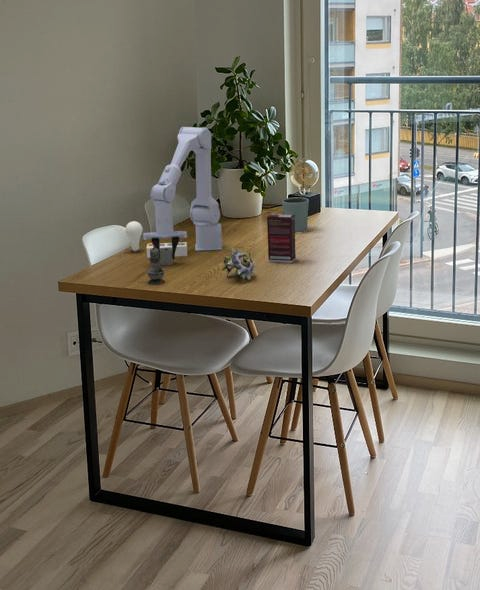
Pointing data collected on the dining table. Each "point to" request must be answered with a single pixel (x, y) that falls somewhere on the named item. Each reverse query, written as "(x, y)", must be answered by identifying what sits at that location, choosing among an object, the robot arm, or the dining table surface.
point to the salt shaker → (155, 268)
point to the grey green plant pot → (297, 211)
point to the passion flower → (240, 264)
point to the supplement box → (281, 238)
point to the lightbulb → (134, 234)
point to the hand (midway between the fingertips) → (166, 259)
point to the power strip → (180, 249)
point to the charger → (166, 256)
